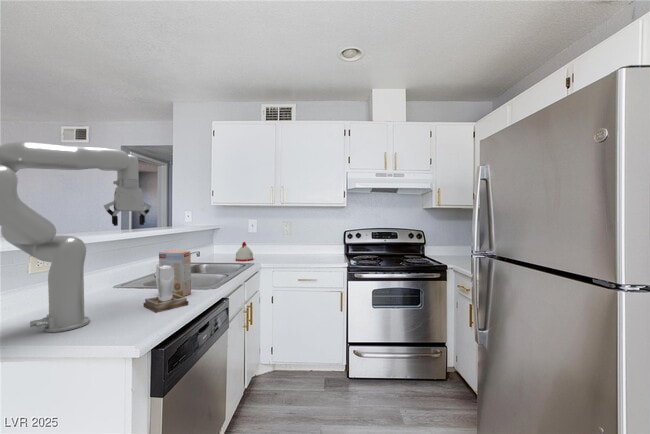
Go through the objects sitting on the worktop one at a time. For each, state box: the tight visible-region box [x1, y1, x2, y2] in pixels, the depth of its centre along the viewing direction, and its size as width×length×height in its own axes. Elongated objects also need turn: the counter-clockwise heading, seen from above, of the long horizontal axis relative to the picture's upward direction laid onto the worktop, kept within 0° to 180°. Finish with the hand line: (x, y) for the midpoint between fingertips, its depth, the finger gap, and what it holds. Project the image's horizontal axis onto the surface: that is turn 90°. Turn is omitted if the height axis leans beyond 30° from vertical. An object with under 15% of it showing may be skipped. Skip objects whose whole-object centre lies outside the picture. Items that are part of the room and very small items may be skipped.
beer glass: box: [155, 266, 174, 303], centre depth 129 cm, size 7×7×15 cm
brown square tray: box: [143, 293, 189, 314], centre depth 129 cm, size 13×13×3 cm
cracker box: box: [158, 250, 192, 297], centre depth 146 cm, size 14×6×21 cm, turn 72°
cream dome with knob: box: [235, 241, 254, 262], centre depth 249 cm, size 14×14×15 cm
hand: (129, 225), depth 128 cm, fingers open, 9 cm apart
